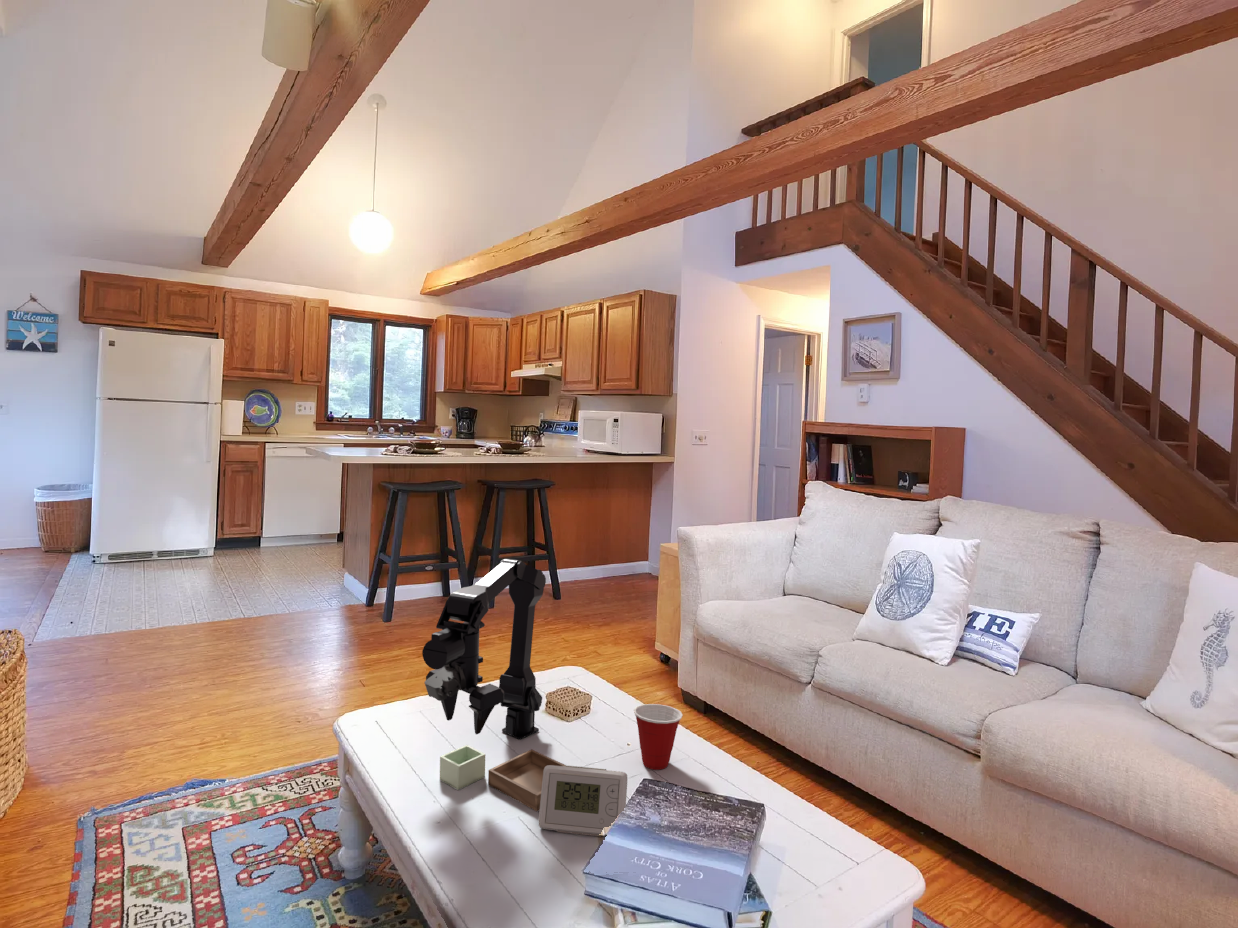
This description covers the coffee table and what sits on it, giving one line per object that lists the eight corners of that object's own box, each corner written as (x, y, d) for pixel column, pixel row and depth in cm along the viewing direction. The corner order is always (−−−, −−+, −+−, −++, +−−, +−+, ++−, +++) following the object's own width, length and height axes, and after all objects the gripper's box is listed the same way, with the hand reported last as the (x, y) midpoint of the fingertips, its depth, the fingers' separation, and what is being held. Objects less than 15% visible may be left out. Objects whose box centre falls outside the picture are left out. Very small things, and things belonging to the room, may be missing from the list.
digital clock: (533, 830, 128) (535, 774, 128) (552, 804, 137) (554, 752, 136) (617, 850, 124) (619, 792, 123) (631, 822, 132) (634, 768, 131)
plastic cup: (687, 759, 157) (690, 707, 156) (668, 780, 148) (671, 725, 147) (644, 746, 162) (646, 696, 161) (623, 766, 153) (625, 713, 152)
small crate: (466, 767, 150) (467, 744, 150) (484, 776, 146) (485, 753, 146) (439, 779, 145) (440, 756, 144) (458, 790, 141) (458, 766, 140)
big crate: (531, 763, 153) (531, 749, 153) (579, 786, 144) (579, 771, 144) (488, 784, 143) (488, 769, 143) (536, 811, 134) (537, 795, 134)
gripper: (404, 651, 143) (403, 725, 144) (462, 675, 132) (460, 755, 133) (448, 639, 152) (447, 708, 153) (506, 660, 140) (504, 735, 141)
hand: (463, 726), depth 145 cm, fingers open, 9 cm apart
